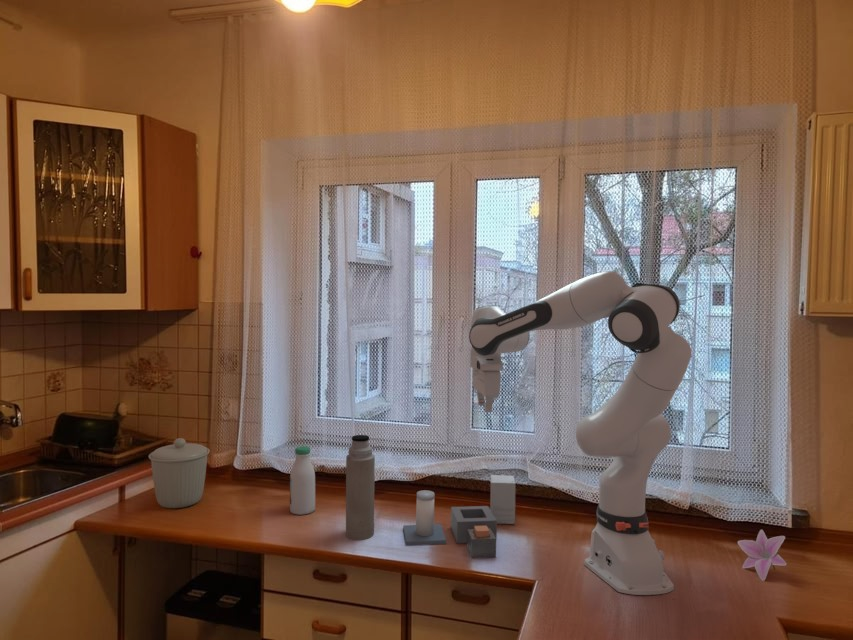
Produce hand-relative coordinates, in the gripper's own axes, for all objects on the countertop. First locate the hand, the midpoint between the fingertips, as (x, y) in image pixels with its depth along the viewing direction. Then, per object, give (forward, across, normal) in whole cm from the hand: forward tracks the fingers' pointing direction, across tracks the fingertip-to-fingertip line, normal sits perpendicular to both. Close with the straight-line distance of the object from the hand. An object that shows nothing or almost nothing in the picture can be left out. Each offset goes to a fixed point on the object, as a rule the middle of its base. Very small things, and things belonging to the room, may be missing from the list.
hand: (484, 408), depth 165 cm
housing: (+35, +5, -4) cm, 36 cm away
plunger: (+35, +16, -4) cm, 39 cm away
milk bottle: (+35, -17, -54) cm, 67 cm away
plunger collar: (+35, +16, -4) cm, 39 cm away
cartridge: (+34, +5, -18) cm, 39 cm away
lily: (+35, +33, +64) cm, 80 cm away
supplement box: (+35, -5, +7) cm, 36 cm away
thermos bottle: (+35, +2, -36) cm, 50 cm away
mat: (+35, +5, -18) cm, 40 cm away
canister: (+35, -27, -94) cm, 104 cm away
